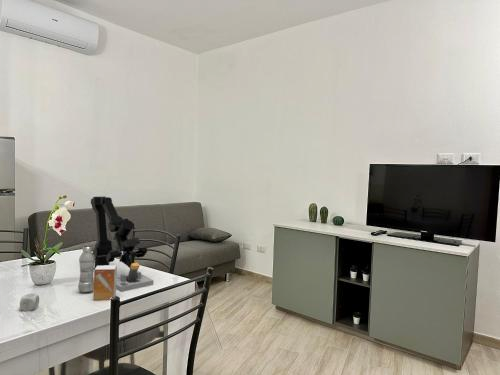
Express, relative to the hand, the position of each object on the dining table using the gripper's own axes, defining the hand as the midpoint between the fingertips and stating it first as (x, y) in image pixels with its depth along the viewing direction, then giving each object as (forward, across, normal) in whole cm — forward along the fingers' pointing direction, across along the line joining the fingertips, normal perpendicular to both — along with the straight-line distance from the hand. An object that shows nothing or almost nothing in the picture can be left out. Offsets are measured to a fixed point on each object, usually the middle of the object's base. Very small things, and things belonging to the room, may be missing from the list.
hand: (132, 269), depth 162 cm
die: (+7, -42, +4) cm, 43 cm away
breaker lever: (+3, 0, +5) cm, 6 cm away
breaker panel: (+4, 0, +7) cm, 8 cm away
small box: (+11, -16, 0) cm, 19 cm away
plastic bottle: (+3, -19, +8) cm, 21 cm away
